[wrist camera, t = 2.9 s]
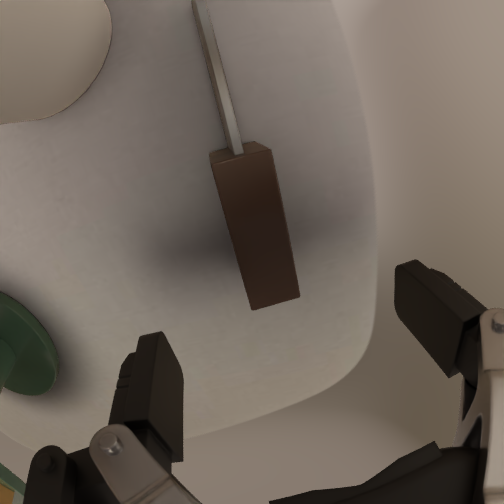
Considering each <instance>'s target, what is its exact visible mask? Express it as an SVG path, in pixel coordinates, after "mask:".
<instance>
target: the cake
mask: <svg viewBox="0 0 504 504" xmlns="http://www.w3.org/2000/svg"><path fill="white" fill-rule="evenodd" d="M13 497H14V492H13V491H12V490H10V489H8V488H6V487H5V486H3V485H1V484H0V504H12V502H13Z"/></svg>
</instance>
